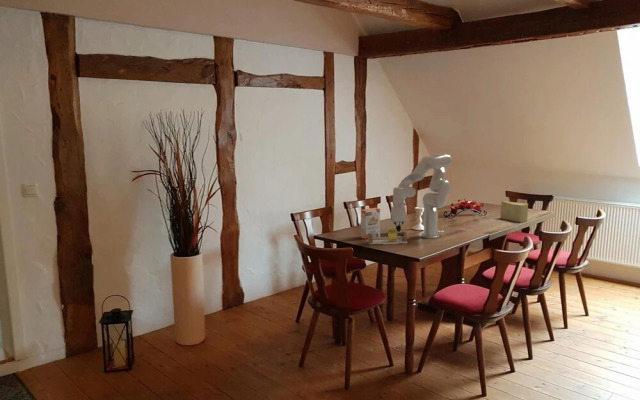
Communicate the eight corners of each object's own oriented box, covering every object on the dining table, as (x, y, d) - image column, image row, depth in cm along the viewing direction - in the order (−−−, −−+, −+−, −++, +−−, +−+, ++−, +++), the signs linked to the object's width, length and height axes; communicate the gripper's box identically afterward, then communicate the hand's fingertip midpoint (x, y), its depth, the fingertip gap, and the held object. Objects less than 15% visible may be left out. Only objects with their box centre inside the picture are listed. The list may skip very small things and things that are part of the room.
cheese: (497, 218, 407) (497, 201, 405) (504, 217, 413) (505, 200, 410) (520, 223, 389) (521, 204, 387) (527, 221, 394) (528, 203, 392)
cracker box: (366, 239, 346) (365, 210, 343) (360, 238, 351) (360, 209, 348) (380, 236, 354) (380, 208, 351) (374, 235, 359) (374, 207, 356)
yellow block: (394, 238, 340) (394, 227, 338) (397, 240, 333) (397, 229, 331) (386, 238, 339) (386, 228, 338) (388, 241, 332) (388, 230, 331)
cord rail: (403, 240, 342) (403, 229, 340) (407, 243, 333) (407, 232, 332) (367, 241, 339) (367, 231, 338) (370, 245, 330) (370, 234, 329)
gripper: (407, 204, 337) (407, 229, 340) (386, 204, 335) (386, 230, 338) (410, 205, 330) (410, 232, 332) (389, 206, 328) (389, 233, 331)
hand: (398, 231), depth 335 cm, fingers closed
